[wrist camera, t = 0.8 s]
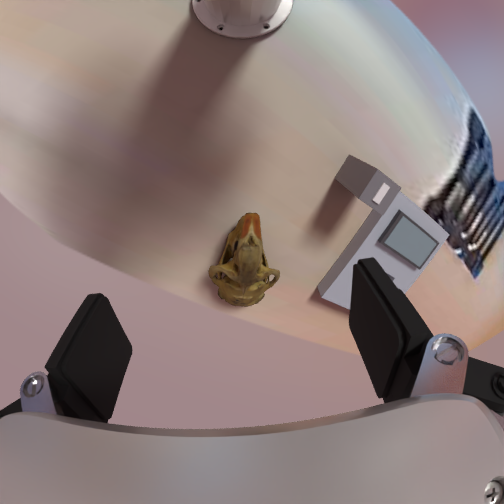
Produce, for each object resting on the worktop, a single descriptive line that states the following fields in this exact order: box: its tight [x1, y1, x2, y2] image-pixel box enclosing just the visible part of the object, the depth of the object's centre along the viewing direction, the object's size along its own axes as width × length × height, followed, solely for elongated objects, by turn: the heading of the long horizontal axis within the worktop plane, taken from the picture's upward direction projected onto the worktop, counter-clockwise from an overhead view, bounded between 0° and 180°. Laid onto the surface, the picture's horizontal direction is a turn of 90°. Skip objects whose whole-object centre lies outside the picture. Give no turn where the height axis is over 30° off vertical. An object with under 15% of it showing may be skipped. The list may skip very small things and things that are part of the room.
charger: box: [335, 155, 401, 215], centre depth 33 cm, size 4×4×9 cm
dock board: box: [317, 191, 449, 310], centre depth 42 cm, size 20×14×4 cm
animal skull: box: [208, 213, 280, 307], centre depth 37 cm, size 9×16×10 cm, turn 0°
